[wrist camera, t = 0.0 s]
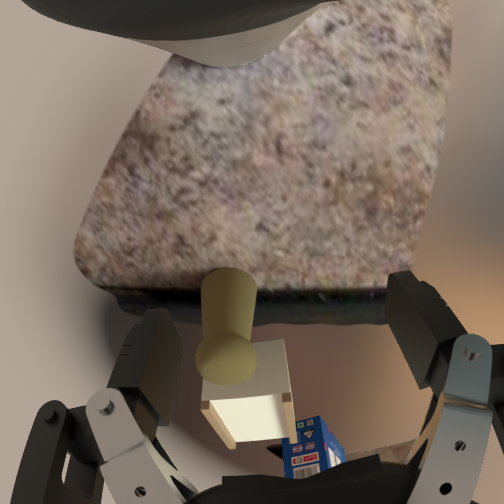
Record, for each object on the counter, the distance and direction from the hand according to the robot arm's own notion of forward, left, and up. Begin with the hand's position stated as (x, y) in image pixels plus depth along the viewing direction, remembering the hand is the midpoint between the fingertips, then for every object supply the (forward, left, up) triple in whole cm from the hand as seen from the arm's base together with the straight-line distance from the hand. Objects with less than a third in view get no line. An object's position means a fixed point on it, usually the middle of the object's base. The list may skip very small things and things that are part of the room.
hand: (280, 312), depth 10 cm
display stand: (+29, -5, -17) cm, 34 cm away
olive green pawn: (+13, -5, -17) cm, 22 cm away
